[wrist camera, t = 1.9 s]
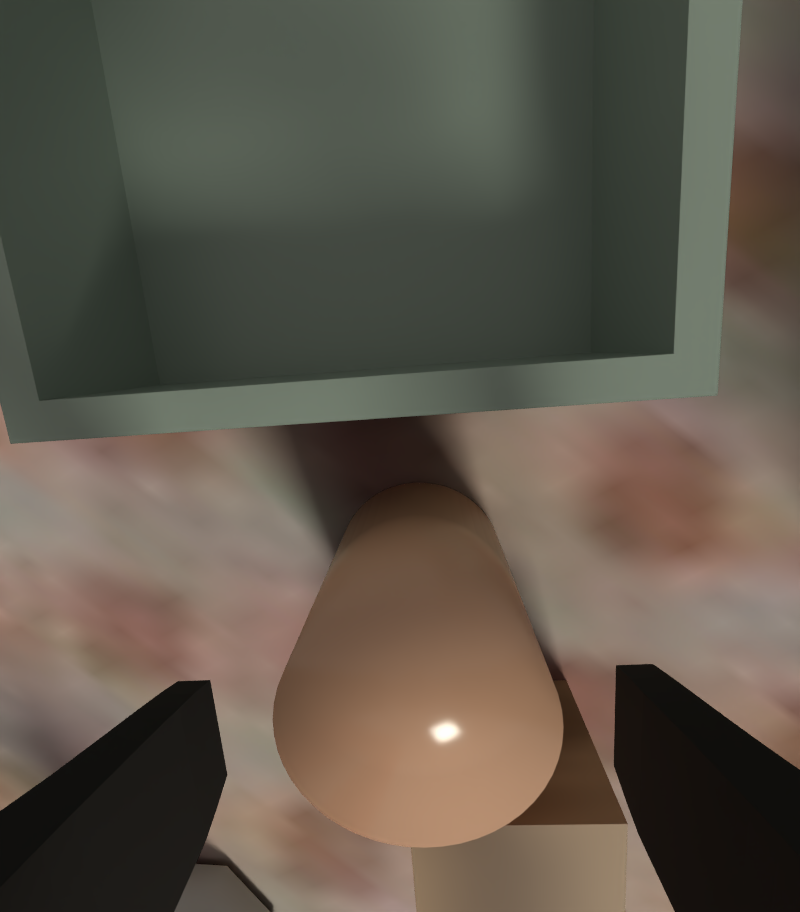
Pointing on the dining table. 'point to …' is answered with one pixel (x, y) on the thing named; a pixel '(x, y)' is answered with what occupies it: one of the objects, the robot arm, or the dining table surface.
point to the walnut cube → (540, 845)
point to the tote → (358, 208)
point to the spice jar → (418, 679)
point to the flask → (217, 892)
